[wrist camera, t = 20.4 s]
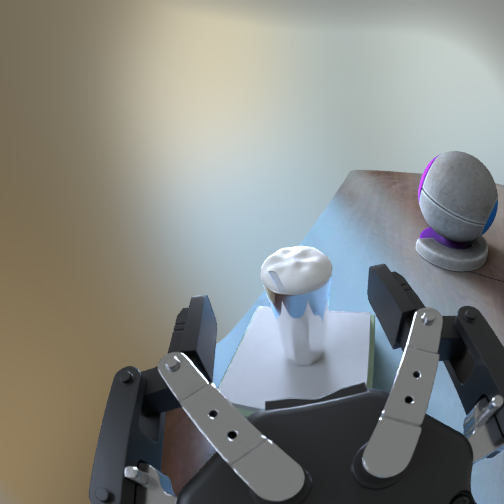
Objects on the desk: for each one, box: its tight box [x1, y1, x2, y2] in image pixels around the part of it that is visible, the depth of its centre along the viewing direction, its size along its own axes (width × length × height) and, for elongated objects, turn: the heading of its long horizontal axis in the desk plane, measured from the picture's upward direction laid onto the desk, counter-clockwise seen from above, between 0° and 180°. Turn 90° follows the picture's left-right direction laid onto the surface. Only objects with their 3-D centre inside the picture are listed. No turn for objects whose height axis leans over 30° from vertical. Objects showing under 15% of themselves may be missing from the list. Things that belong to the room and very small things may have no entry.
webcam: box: [416, 151, 498, 271], centre depth 31 cm, size 13×13×15 cm
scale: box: [218, 306, 375, 418], centre depth 22 cm, size 12×12×4 cm
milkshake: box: [261, 246, 332, 365], centre depth 19 cm, size 4×5×10 cm
